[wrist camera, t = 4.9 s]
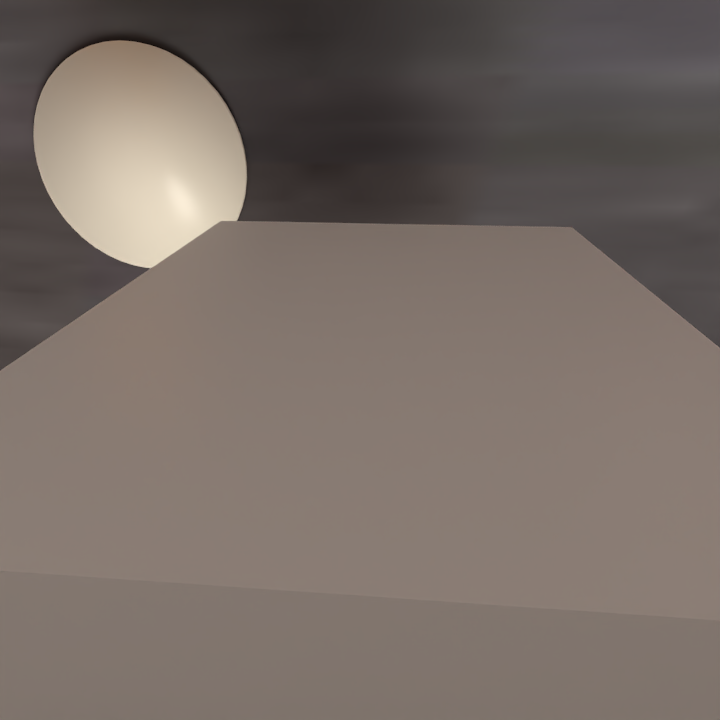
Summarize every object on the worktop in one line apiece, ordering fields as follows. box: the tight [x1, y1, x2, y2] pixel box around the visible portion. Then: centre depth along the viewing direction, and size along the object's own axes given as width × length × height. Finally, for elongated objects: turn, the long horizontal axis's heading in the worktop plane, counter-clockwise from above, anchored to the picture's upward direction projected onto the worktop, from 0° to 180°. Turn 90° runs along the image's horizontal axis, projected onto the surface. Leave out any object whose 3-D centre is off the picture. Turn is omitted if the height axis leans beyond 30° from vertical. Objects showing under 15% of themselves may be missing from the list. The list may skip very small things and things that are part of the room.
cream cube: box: [0, 221, 720, 720], centre depth 8 cm, size 7×7×9 cm
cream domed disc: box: [33, 40, 247, 268], centre depth 20 cm, size 8×8×1 cm
